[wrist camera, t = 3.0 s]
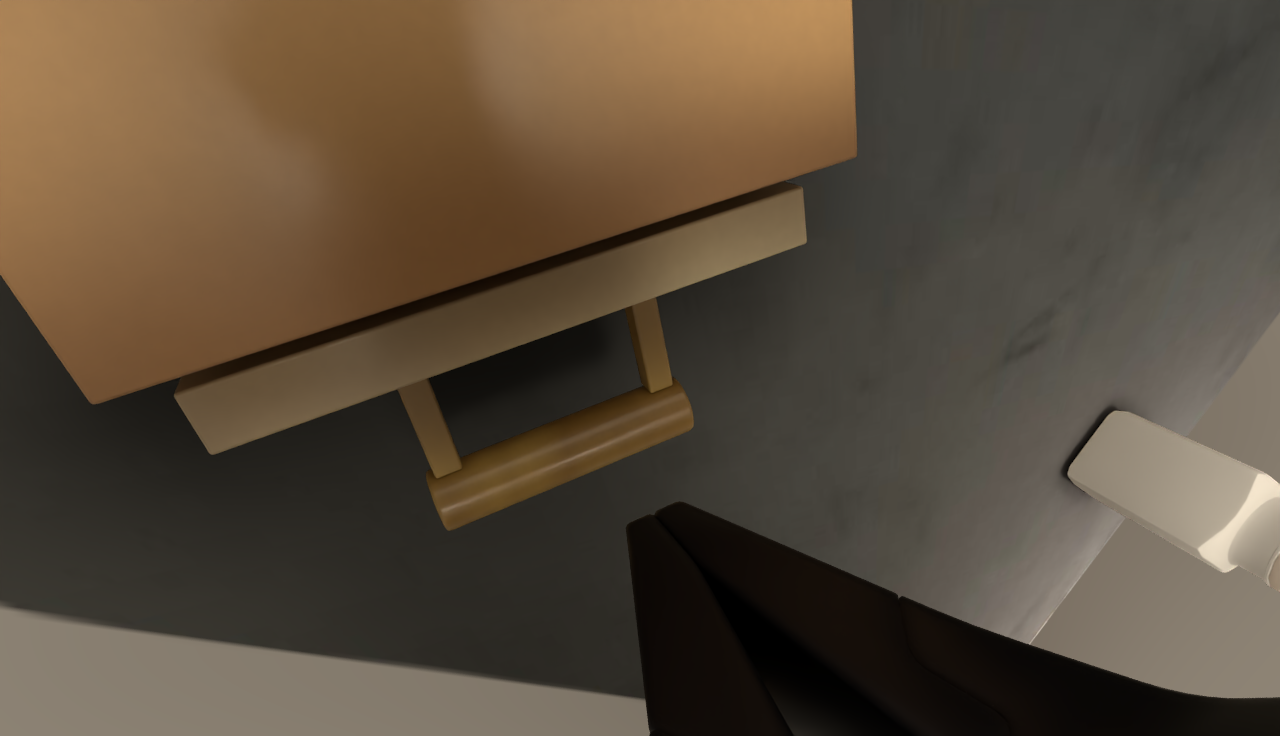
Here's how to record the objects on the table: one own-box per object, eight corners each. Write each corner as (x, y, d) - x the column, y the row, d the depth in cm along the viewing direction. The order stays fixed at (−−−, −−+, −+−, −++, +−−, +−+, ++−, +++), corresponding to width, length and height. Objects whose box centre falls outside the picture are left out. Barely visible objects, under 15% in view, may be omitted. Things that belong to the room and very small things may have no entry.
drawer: (721, 344, 20) (821, 417, 16) (321, 498, 17) (322, 636, 13) (579, -592, 11) (721, -946, 7) (-281, -608, 8) (-841, -1222, 4)
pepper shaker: (1110, 401, 31) (1384, 522, 23) (1143, 430, 33) (1404, 551, 25) (1056, 473, 31) (1305, 616, 23) (1091, 497, 34) (1331, 636, 26)
